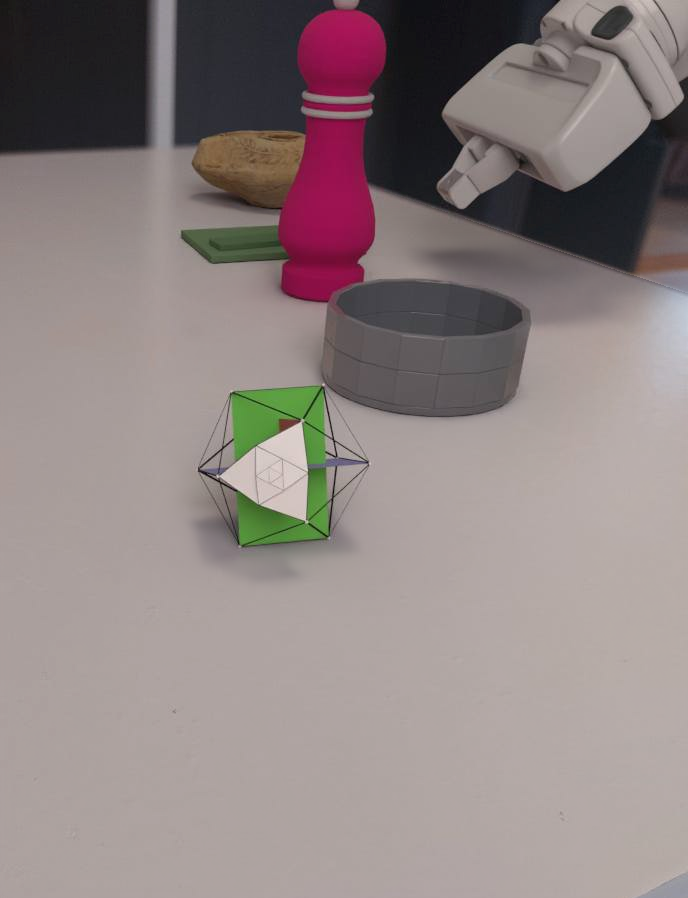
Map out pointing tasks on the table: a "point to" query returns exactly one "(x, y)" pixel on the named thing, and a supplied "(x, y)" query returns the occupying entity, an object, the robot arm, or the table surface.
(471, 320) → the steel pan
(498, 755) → the table surface
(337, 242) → the pepper mill
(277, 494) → the geometric puzzle
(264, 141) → the oil lamp
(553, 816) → the table surface
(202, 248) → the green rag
